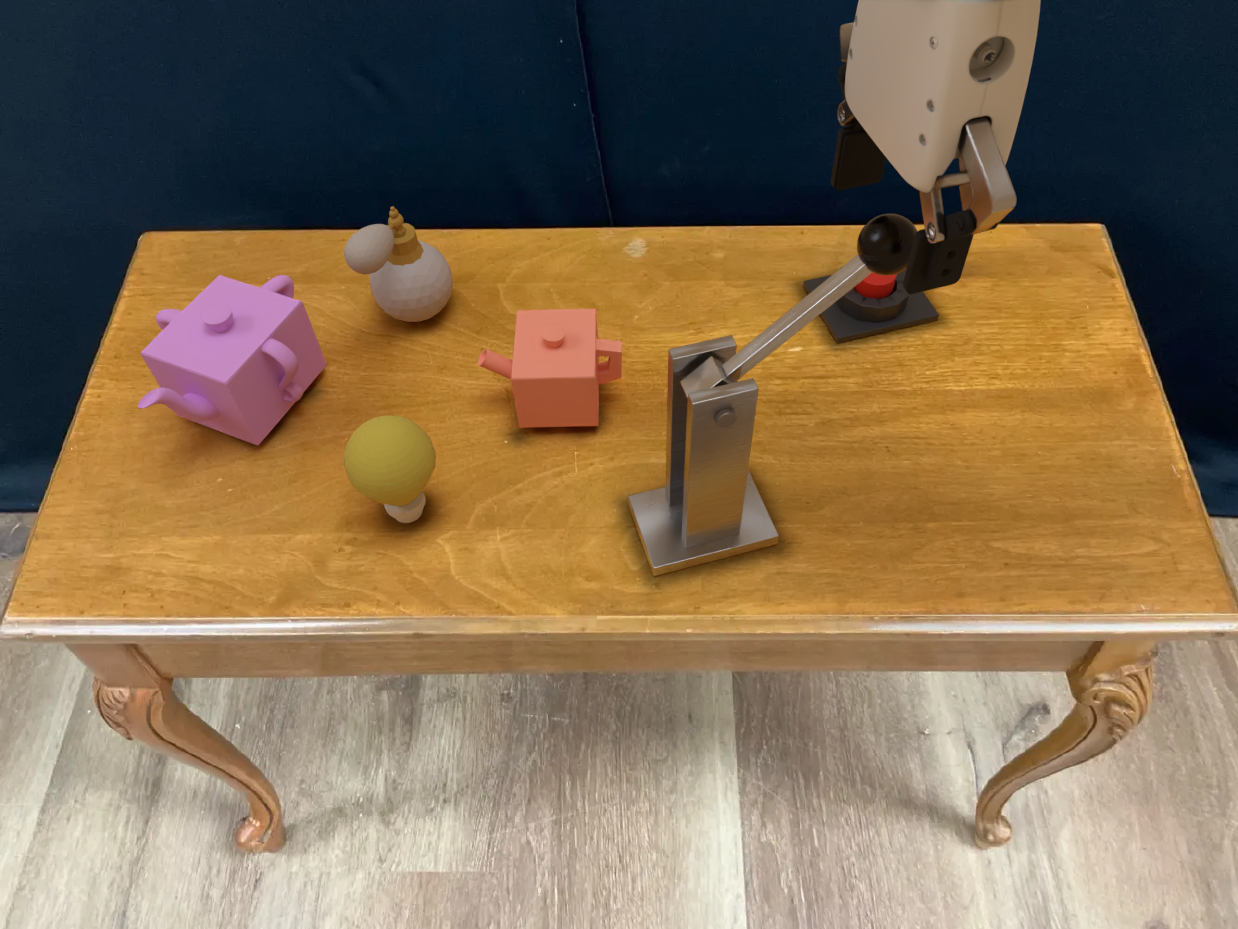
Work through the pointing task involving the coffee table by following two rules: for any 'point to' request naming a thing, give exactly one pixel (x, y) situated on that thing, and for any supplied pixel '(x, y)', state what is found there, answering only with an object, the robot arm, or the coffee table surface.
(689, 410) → the lever stand
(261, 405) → the teapot
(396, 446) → the light bulb
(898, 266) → the lever
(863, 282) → the button
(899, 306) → the button block
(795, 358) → the coffee table surface
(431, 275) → the perfume bottle
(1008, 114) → the robot arm
